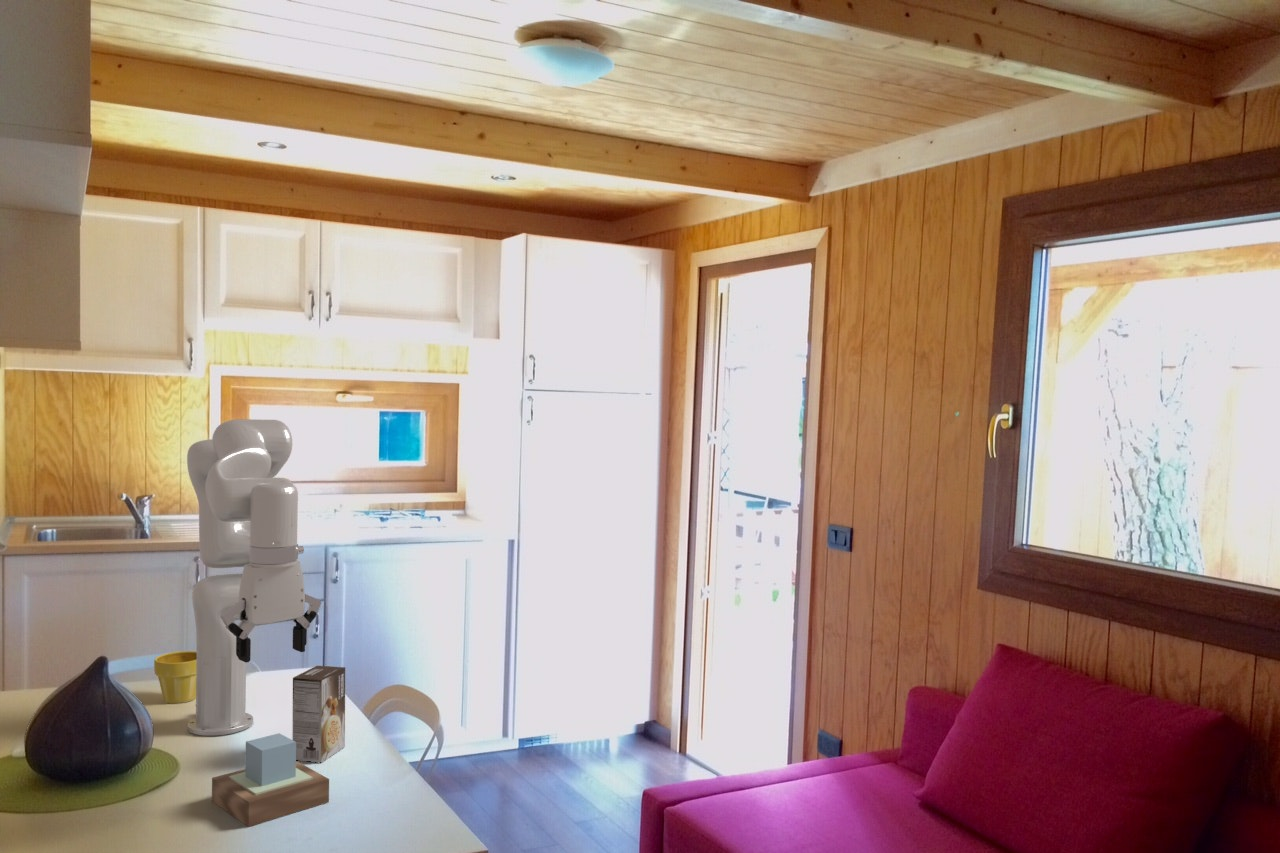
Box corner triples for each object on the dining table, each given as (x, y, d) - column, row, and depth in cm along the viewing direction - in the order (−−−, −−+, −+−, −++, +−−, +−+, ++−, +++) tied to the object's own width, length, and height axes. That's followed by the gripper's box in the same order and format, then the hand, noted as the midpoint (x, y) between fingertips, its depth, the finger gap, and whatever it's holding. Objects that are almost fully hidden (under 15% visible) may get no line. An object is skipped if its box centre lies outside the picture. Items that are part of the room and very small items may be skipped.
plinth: (211, 800, 166) (212, 775, 166) (289, 779, 177) (290, 755, 176) (248, 826, 157) (249, 800, 157) (328, 802, 167) (329, 777, 167)
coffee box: (316, 744, 194) (317, 664, 194) (345, 747, 193) (346, 666, 193) (290, 760, 185) (291, 676, 185) (321, 764, 184) (322, 679, 184)
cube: (245, 776, 166) (245, 741, 166) (278, 767, 171) (279, 733, 171) (261, 786, 162) (262, 750, 162) (295, 776, 167) (296, 742, 167)
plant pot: (152, 708, 214) (152, 664, 214) (155, 695, 223) (155, 652, 223) (204, 703, 218) (204, 660, 218) (205, 690, 228) (205, 649, 227)
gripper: (310, 547, 174) (308, 642, 175) (212, 557, 162) (211, 660, 163) (331, 553, 169) (329, 651, 170) (232, 564, 157) (231, 669, 157)
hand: (271, 655), depth 166 cm, fingers open, 9 cm apart
